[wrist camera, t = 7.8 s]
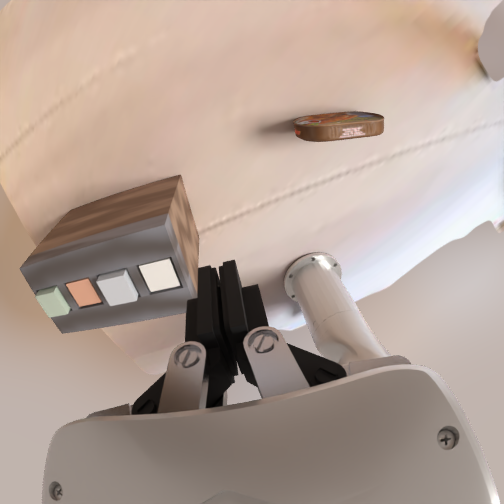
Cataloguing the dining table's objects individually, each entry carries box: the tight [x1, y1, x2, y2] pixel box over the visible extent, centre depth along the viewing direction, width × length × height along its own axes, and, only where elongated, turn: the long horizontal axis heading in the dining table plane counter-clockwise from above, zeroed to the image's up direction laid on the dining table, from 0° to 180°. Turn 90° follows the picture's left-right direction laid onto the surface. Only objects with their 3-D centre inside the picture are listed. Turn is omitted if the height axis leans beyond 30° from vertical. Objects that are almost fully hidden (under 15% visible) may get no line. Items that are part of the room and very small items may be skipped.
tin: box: [293, 112, 384, 142], centre depth 39 cm, size 15×3×8 cm, turn 101°
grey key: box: [96, 268, 139, 306], centre depth 31 cm, size 4×4×2 cm
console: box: [20, 175, 199, 333], centre depth 39 cm, size 12×22×19 cm, turn 100°
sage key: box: [35, 285, 71, 318], centre depth 31 cm, size 4×4×2 cm
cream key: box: [139, 257, 181, 292], centre depth 32 cm, size 4×4×2 cm
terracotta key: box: [66, 277, 102, 307], centre depth 32 cm, size 4×4×2 cm
